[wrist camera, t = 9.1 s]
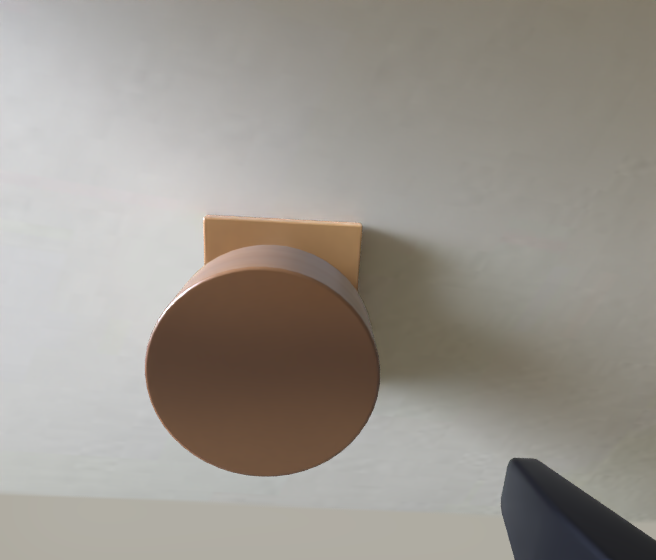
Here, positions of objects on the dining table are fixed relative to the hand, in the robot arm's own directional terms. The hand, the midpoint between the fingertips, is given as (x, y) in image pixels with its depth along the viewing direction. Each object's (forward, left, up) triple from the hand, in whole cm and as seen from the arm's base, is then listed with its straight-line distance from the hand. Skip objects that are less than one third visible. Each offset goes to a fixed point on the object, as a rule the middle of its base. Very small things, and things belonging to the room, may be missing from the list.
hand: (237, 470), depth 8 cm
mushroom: (0, 0, -9) cm, 9 cm away
